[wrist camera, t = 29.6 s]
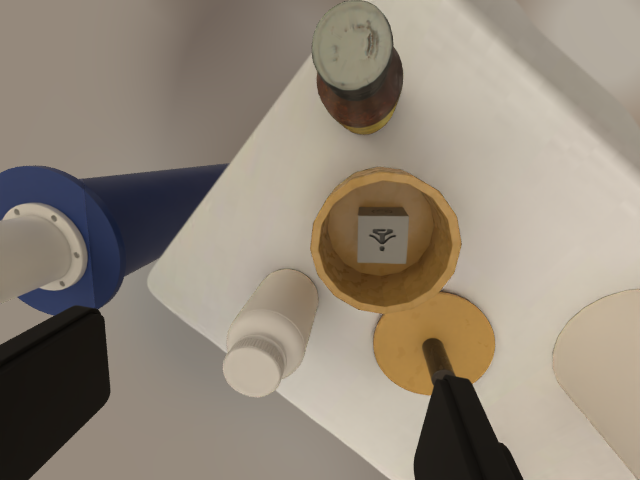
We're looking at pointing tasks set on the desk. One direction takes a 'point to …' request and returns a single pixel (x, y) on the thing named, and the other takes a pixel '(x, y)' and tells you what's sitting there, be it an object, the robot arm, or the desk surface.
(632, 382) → the cylinder
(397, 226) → the dice cube
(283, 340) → the pill bottle
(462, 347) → the tan wooden disc
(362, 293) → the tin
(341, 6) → the sauce bottle
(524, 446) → the desk surface
